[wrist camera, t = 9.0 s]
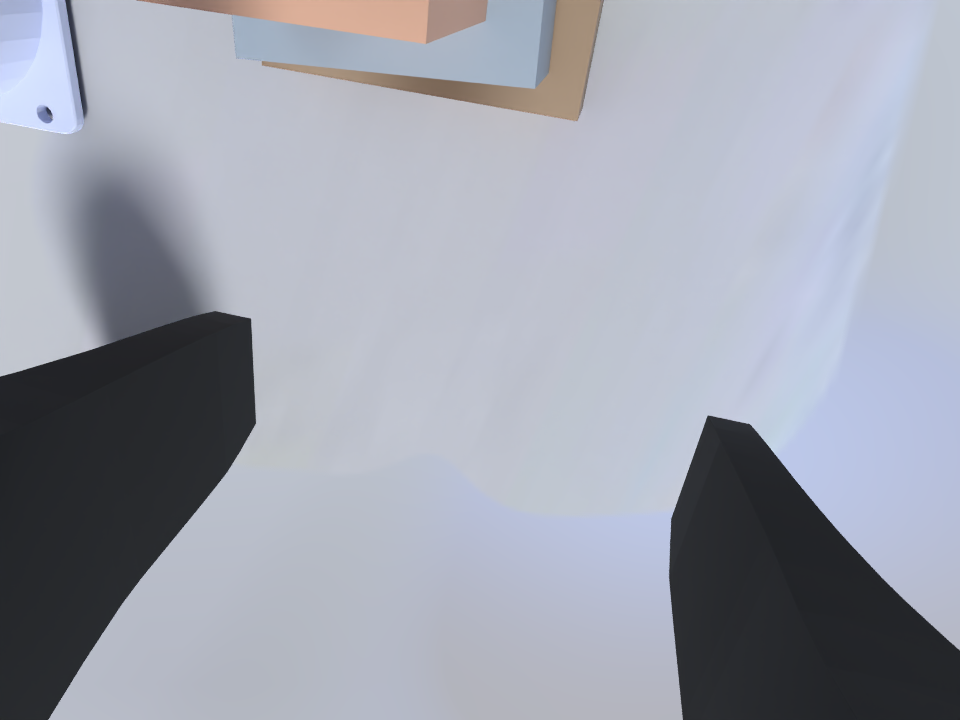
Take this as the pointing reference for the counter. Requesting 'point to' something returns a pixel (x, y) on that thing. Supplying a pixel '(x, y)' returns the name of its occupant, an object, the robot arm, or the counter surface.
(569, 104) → the walnut base block
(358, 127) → the counter surface
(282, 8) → the terracotta block
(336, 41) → the slate middle block
